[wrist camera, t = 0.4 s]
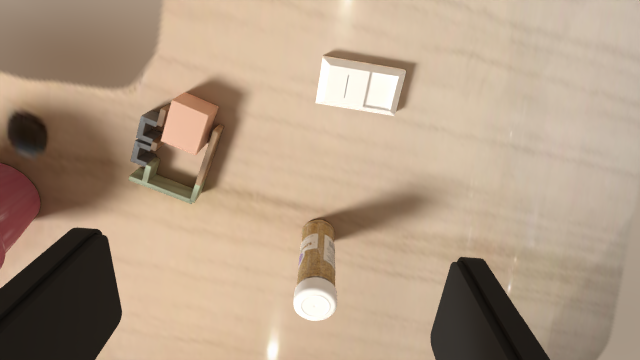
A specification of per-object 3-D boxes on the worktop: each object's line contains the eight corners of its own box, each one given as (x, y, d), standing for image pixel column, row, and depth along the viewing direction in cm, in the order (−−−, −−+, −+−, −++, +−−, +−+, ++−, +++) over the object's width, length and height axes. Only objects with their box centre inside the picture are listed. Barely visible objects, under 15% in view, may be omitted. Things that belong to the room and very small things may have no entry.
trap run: (154, 96, 41) (144, 101, 39) (224, 126, 43) (218, 132, 40) (136, 170, 45) (126, 179, 43) (200, 195, 47) (193, 204, 44)
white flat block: (323, 55, 39) (322, 57, 37) (403, 68, 40) (407, 72, 37) (316, 99, 41) (315, 104, 39) (392, 111, 42) (396, 117, 39)
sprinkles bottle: (301, 217, 48) (292, 288, 36) (335, 218, 48) (338, 290, 36) (301, 245, 50) (293, 322, 38) (334, 246, 50) (336, 323, 38)
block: (185, 92, 41) (171, 99, 37) (218, 106, 42) (208, 115, 38) (174, 130, 43) (160, 141, 39) (206, 143, 44) (195, 155, 40)
